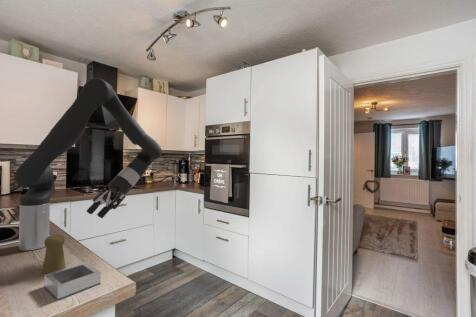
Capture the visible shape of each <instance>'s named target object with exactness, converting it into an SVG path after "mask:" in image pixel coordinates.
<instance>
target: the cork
mask: <svg viewBox="0 0 476 317" xmlns="http://www.w3.org/2000/svg"><path fill="white" fill-rule="evenodd" d="M65 240H66V239H65V237H64V235H62V234H54V235H49V237H47V238H46V239H45V242H44V244H45V247H46V249H45V255H44V260H43V264H42V272H41V273H42V274H43V275H46V274H49V273H52V272H55V271H59V270H62V269H65V268H67V266H66V260H65V253H64V246H63V245H64V243H65ZM45 247H44V248H45Z"/></svg>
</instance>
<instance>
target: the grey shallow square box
mask: <svg viewBox="0 0 476 317" xmlns="http://www.w3.org/2000/svg"><path fill="white" fill-rule="evenodd" d="M101 275H102V272H101V271H100V270H98V269H97V268H95V267H94V266H92V265H90V264H88V263H87V262H82V263H78V264H75V265H72V266H69V267H68V266H67V267H66V268H65V269H62V270H59V271H55V272H52V273H49V274H43V276H44V279H43V280H44V283H43V287H44V289H46V290H47V292H49V293H50V295H51V296H52V297H53V298H55V300H56V301H57V302H58V301H60V300H63V299H66V298H69V297H70V296H73V295H75V294H78V293H81V292H83V291H86V290H88V289H91V288H93V287H96V286H99V285H101V280H102V279H101Z"/></svg>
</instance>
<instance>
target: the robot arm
mask: <svg viewBox="0 0 476 317" xmlns="http://www.w3.org/2000/svg"><path fill="white" fill-rule="evenodd" d="M99 106H102V107H103V108H105V109H106V110H107V111H108V112H109V114H110V115H111V116H112V117H113V119H114V120H115V122H116V123H117V125H118V127H119V128H120V130H121V131H122V133H123V134H124V136H126V137H127V139H128V140H129V141H130V142H131V143H132V144H133V145H134V146H138V147H139V148H141V150H140V152H138V153H137V155H136V156H135V157H134V158H133V159H132V160H131V161H130V162H129V163H128V164H127V165H126V166H125V167H124V168H123V169H121V171H120V172H118V174H116V176H115V177H114V178H112V180H111V181H110V182H108V186H109V188H108V189H106V188H103V189H102V190H101V191H100V192H99V193H98V194H97V195H96V196H95V197H94V198H93V199H92V201H93V203H92V204H91V205H90V206H88V208H87V210H86V212H87V214H89V215H93V214H94V212H95V211H97V210H98V209H99V207H100V206H102V205H105V206H103V207H102V208H101V209H100V210H99V211H98V213H97V214H96V215H97V217H99V219H100V218H101V219H103V218H104V217H106V215H107V214H108V213H109V212H110V211H112V210H116V209H117V208H118V207H119V205H120V204H121V203H122V202H123V200H124V199H125V198H126V195H128V193H129V192H130V191H131V190H132V188H133V187H134V186H135V185H136V184H137V183H138V181H139V179H140V178H141V177H142V176H143V175H144V174H145V173H146V171H147V170H148V168H149V166H150V165H151V164H152V163H153V162H154V161H156V160H157V159H159V158H160V157H161V156H162V154H163V153H162V152H163V149H162V147H161V146H160V144H159V143H158V142H157V140H155V139H154V138H153V137H151V136H150V135H148V134H147V133H146V132H145V130H144V129H143V128H142V127H141V125H140V123H138V122H137V121H136V119H135V117H133V116H132V114H130V112H129V111H128V110H127V108H125V106H124V105H123V103H122V102H121V99H119V97H118V95H117V93H116V91H115V90H114V88H113V86H112V85H111V84H110V83H109V82H107V81H105V80H104V79H101V78H98V77H93V78H91V79H89V80H88V81H86V82H85V83H84V85H83V86H82V88H81V90H80V92H79V93H78V95H77V96H76V97H75V100H74V101H73V103H72V104H71V105H70V106H69V107H68V109H67V110H66V111H65V112H64V114H62V116H61V118H59V120H58V121H57V122H56V123H55V124H54V125H53V127H52V128H51V130H50V131H49V132H48V134H47V135H46V136H45V138H44V139H43V140H42V141H41V143H40V144H39V145H38V146H37V147H36V149H35V150H34V151H33V152H32V153H31V154H30V155H29V156H28V157H27V158H26V159H25V160H24V161H23V162H22V163H21V164H20V165H19V167H18V168H17V169H16V171H15V173H14V175H13V177H14V182H15V184H16V185H17V186H19V187H21V188H28V189H27V192H26V193H25V194H23V195H22V196H21V197H20V198H19V220H18V221H19V229H18V235H19V236H18V249H19V251H23V252H24V251H27V252H28V251H35V250H39V249H42V248H45V244H44V242H45V239H46V238H47V237H49V236H50V225H51V224H50V222H51V220H50V218H51V216H50V214H51V212H50V211H51V208H50V206H51V198H52V195H53V191H54V190H53V189H54V182H55V181H54V178H55V176H54V171H53V169H52V167H51V166H50V165H51V164H52V162H54V161H55V160H56V159H57V158H58V157H60V156H61V155H64V153H65V152H67V151H68V150H70V149H71V148H72V147H74V146H75V144H76V143H77V142H78V141H79V140H80V138H81V137H82V135H83V134H84V132H85V130H86V128H87V125H88V122H89V120H90V119H91V118H90V117H91V116H92V114H93V113H94V112H95V111H96V110H97V109H98V107H99Z"/></svg>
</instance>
